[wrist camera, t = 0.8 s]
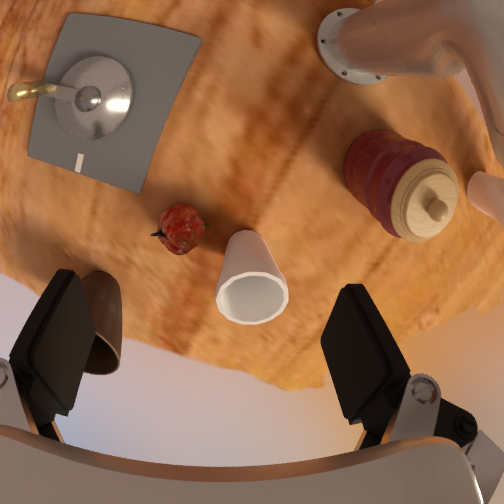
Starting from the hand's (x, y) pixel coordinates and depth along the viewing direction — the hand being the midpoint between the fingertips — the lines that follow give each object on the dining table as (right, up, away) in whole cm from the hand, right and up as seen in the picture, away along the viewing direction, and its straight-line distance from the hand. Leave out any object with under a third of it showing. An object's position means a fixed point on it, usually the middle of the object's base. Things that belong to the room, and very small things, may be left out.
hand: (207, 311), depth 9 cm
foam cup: (+1, +3, +37) cm, 38 cm away
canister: (+22, +16, +31) cm, 41 cm away
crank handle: (-22, +24, +19) cm, 37 cm away
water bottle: (+49, +16, +33) cm, 61 cm away
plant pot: (-27, -5, +40) cm, 49 cm away
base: (-20, +24, +21) cm, 38 cm away
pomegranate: (-9, +7, +34) cm, 36 cm away
